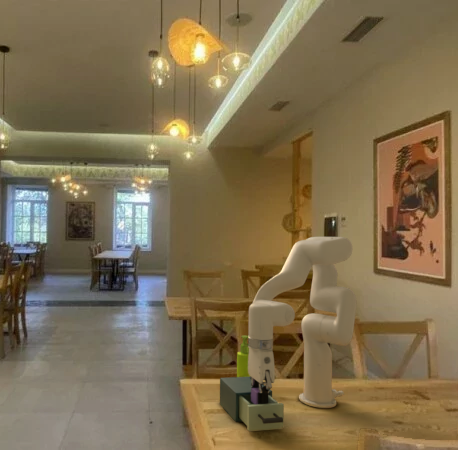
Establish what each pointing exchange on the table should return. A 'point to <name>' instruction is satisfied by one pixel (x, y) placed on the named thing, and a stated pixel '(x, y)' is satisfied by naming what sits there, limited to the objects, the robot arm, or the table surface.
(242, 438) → the table surface
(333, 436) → the table surface
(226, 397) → the small teal cabinet
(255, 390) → the purple rounded cube
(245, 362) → the soap dispenser
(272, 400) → the drawer
